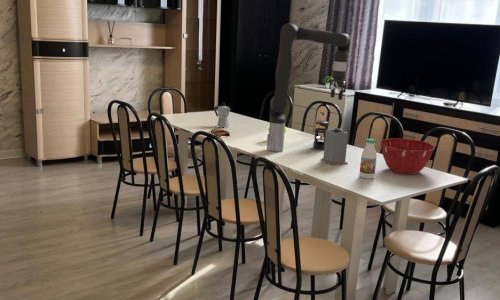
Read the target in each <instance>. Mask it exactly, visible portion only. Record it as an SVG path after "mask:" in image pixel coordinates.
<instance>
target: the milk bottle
mask: <svg viewBox="0 0 500 300" xmlns="http://www.w3.org/2000/svg"><path fill="white" fill-rule="evenodd" d="M375 146H376V139H374V138H366V139H365V146H364V148H363V150H362V153H361V155H360V156H361V157H360V165H359V174H358V175H359V178H363V179H368V180H371V179H374V178H375V175H376V166H377V157H378V156H377V151H376V148H375Z"/></svg>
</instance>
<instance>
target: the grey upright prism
mask: <svg viewBox="0 0 500 300" xmlns="http://www.w3.org/2000/svg"><path fill="white" fill-rule="evenodd" d="M339 130H340V132H339V133H335V132H334V129H330V130H326V133H324V134H325V144H324V150H323V156H322V157H323V158H320V161H321V162H324V163H325V164H327V165H329V166H340V165H341V164H343V165H349V164H348V161H346V157H347V150H348V149H347V146H348V138H349V132H348V131H345V130H342V129H339ZM341 166H342V165H341Z"/></svg>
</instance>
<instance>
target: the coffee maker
mask: <svg viewBox="0 0 500 300" xmlns="http://www.w3.org/2000/svg"><path fill="white" fill-rule="evenodd" d="M231 110H232V109H231V107H229V106H227V105H226V102H222V104H221V105H218V106H217V105H216V106H214V107H213V111H214V113H215V116H216V117H218V120H217V125H216V127H217V126H219V127H229V118H228V117H229V114H230V111H231ZM229 128H230V127H229Z"/></svg>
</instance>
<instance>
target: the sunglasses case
mask: <svg viewBox="0 0 500 300" xmlns="http://www.w3.org/2000/svg"><path fill="white" fill-rule="evenodd" d="M208 132H211V133H214V134H215V135H214V136H216V135H217V136H219V137H218V138H222V137H221V136H229V137H230V136H231V134H230V132H229V131H228V130H226V129H224V128H218V127H217V126H216V127H215V128H213V129H211V130H210V131H208ZM211 133H210V134H211ZM217 136H216V137H217Z"/></svg>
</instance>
